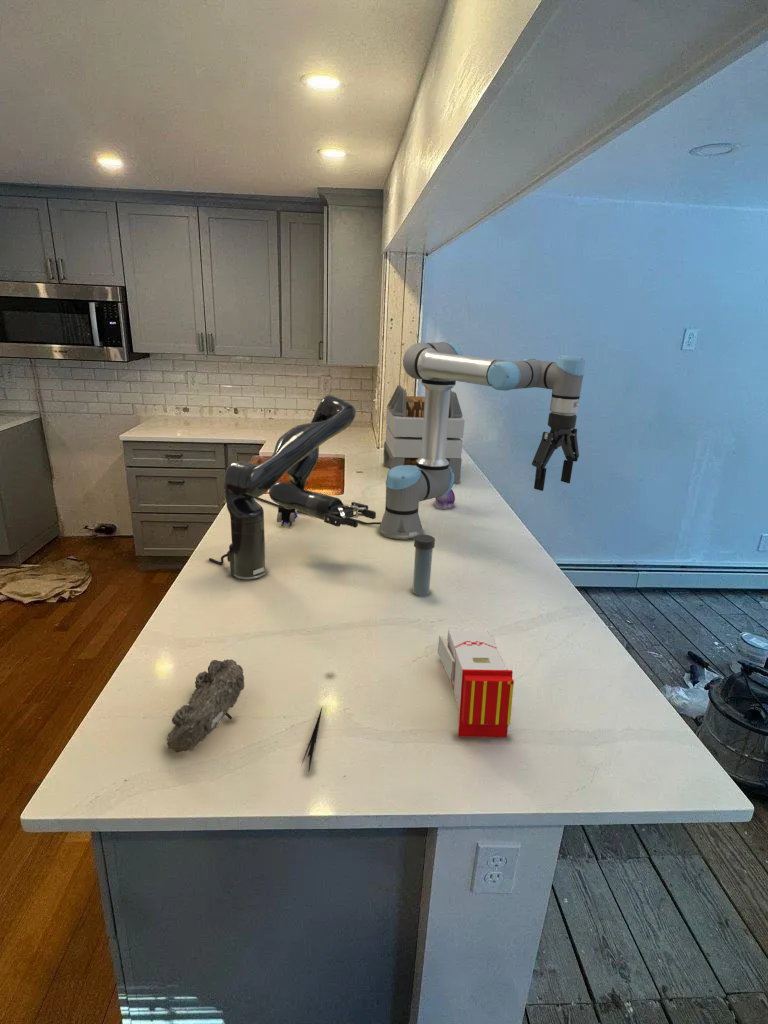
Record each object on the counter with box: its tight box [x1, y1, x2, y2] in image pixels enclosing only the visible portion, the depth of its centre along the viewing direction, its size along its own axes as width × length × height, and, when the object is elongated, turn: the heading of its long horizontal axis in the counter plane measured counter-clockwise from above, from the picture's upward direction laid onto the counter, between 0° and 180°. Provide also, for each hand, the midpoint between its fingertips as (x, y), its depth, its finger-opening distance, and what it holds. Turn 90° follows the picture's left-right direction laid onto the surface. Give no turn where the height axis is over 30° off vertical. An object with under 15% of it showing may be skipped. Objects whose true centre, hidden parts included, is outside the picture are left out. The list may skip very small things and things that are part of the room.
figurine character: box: [276, 504, 299, 527], centre depth 205 cm, size 7×8×15 cm
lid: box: [413, 534, 436, 550], centre depth 154 cm, size 6×6×2 cm
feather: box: [301, 673, 332, 771], centre depth 108 cm, size 2×28×2 cm
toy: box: [437, 628, 515, 738], centre depth 117 cm, size 12×13×30 cm
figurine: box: [434, 488, 456, 510], centre depth 228 cm, size 9×10×15 cm
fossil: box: [166, 658, 245, 754], centre depth 106 cm, size 22×10×15 cm
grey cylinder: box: [412, 547, 434, 597], centre depth 157 cm, size 5×5×16 cm
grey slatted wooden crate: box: [383, 384, 465, 484], centre depth 268 cm, size 34×33×41 cm
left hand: (366, 519), depth 163 cm, fingers open, 8 cm apart
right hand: (552, 485), depth 166 cm, fingers open, 13 cm apart
